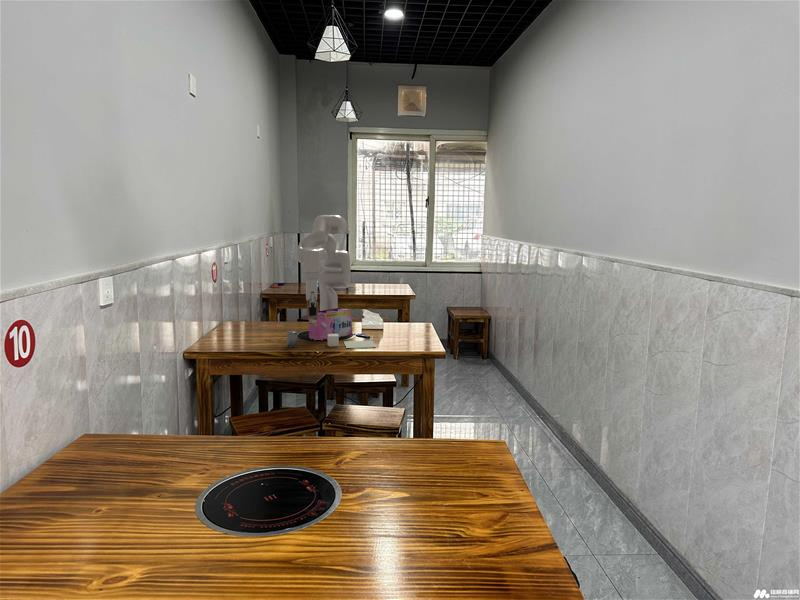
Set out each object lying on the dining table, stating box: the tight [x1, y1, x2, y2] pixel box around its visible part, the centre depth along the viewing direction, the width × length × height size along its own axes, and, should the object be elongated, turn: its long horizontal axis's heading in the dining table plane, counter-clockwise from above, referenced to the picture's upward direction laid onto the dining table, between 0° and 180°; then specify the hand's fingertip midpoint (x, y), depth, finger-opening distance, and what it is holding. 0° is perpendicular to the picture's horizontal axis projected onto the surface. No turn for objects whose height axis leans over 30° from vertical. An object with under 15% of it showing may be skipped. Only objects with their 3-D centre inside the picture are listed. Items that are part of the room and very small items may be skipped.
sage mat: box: [343, 340, 377, 349], centre depth 266 cm, size 14×14×1 cm
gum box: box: [308, 307, 353, 341], centre depth 284 cm, size 24×8×14 cm, turn 137°
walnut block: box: [306, 301, 319, 319], centre depth 262 cm, size 5×5×7 cm
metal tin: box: [286, 330, 299, 348], centre depth 261 cm, size 5×5×7 cm
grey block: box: [326, 334, 340, 347], centre depth 265 cm, size 5×5×5 cm
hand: (312, 314), depth 262 cm, fingers closed on walnut block, 5 cm apart
